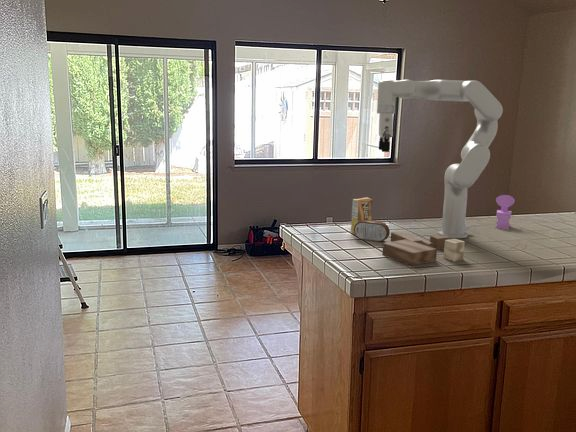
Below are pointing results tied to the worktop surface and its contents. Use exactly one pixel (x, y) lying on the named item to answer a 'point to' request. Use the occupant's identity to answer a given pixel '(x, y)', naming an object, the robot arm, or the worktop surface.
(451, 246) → the maple block
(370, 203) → the candy box
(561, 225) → the worktop surface
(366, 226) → the tin
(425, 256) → the walnut block
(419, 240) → the wooden block set
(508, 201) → the toy chair
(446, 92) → the robot arm
